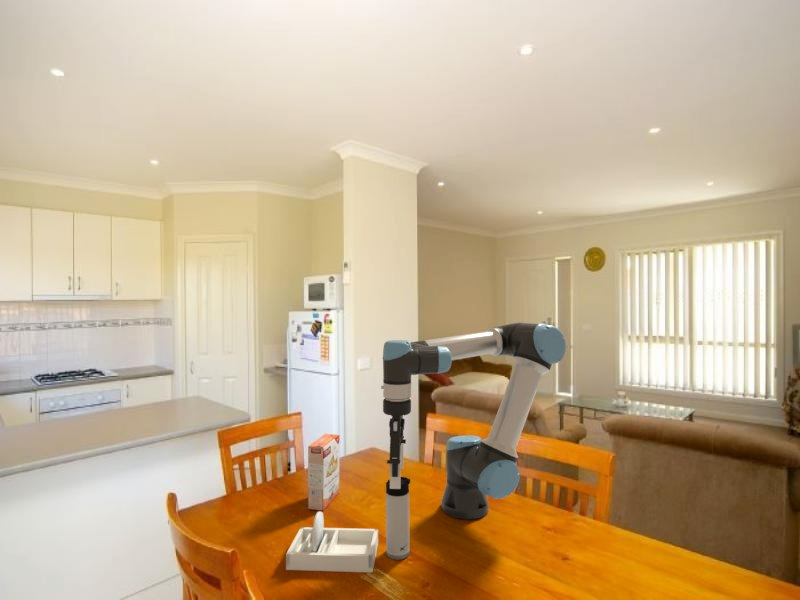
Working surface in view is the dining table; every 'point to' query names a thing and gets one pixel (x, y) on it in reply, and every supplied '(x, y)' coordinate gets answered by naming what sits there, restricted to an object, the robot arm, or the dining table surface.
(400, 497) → the travel mug
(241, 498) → the dining table surface
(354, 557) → the rack
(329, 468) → the cracker box
